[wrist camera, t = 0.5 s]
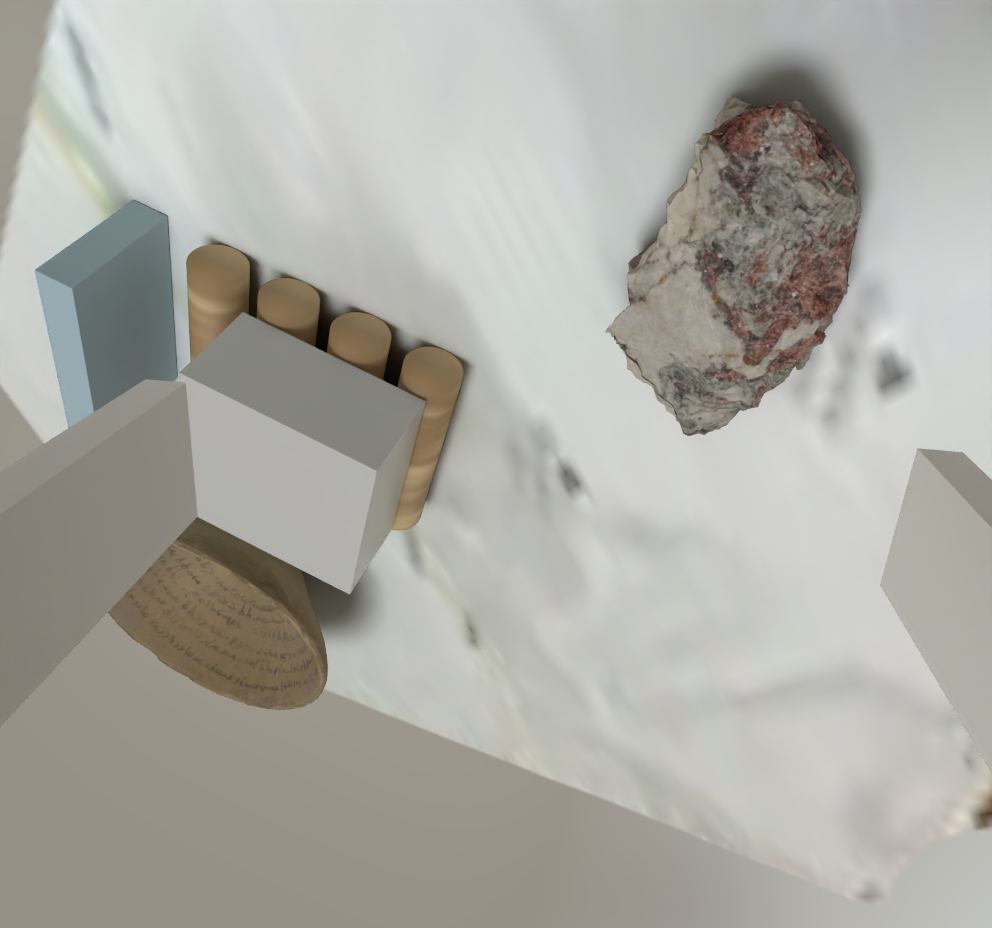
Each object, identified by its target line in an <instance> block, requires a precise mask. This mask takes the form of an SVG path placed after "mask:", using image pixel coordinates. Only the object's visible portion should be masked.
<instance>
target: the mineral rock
mask: <svg viewBox="0 0 992 928" xmlns="http://www.w3.org/2000/svg"><path fill="white" fill-rule="evenodd" d="M695 154H696V158H697V161H696V163H695V164H694V165H693V166H692V167H691V168H690V169H689V170H688V175H687V179H686V182H685V183H684V185H683V186H682V187H681V188H680V189H679V190H677V191H676V192H674V193H673V194H671V196H670V197H669V199H668V200H667V220H666V223H665V224H664V225H663V226H662V227H661V229H660V232H659V234H658V236H657V239H656V241H655V242H654V243H653V244H652V245H650V246H647V247H646V248H645V250H644V251H643V252H641V253H640V254H639V255H637V256H635V257H634V258H633V259H632V260H631V261H630V262H629V263H628V264H629V271H630V272H628V294H629V301H630V306H629V307H627V308H626V309H625V310H624V311H623V312H621V313H620V314H619V315H618V316H617V317H616V318H615V320H614V322H613V323H612V324H611V325H610V326H609V327H608V328H607V329H606V333H607V332H609V333H611V335H612V337H614V340H616V344H619V347H620V348H621V349H622V350H623V352H624V353H625V355H626V358H627V369H628V370H630V371H632V373H633V374H634V376H635V377H636V378H637V379H639V380H641V381H642V382H644V383H647V384H649V385H651V386H652V387H653V388H654V391H655V394H656V397H657V400H658V401H659V402H661V403H663V404H664V405H665V408H666V410H667V411H668V412H670V413H671V414H673V415H674V416H675V417H676V420H677V421H678V422H679V423H680V425H681V428H682V431H683V434H685V435H687V436H691V435H694V434H698V433H699V434H703V435H705V434H706V433H708V432H710V431H713V430H716V429H717V430H718V429H720V428H721V427H723V426H725V425H727V424H728V423H729V422H730V421H731V420H732V418H733V417H734V416H735V415H736V414H737V413H738V412H739V411H740V410H743V411H744V410H746V409H750V408H755V407H758V406H759V403H760V401H761V398H762V396H763V394H764V393H765V392H767V391H769V390H772V389H774V388H775V387H776V386H778V385H779V384H781V383H782V382H784V381H785V379H786V378H787V377H788V376H789V375H790V372H791V371H792V369H793V368H794V367H795V366H796V368H797V370H801V369H802V368H803V367H804V365H805V364H806V363H807V361H808V360H809V357H810V355H811V352H812V349H813V347H815V346H817V345H819V344H822V343H823V341H824V339H825V337H826V335H825V333H824V331H825V329H826V328H827V327H828V326H829V325H830V324H831V323H832V315H833V314H834V313H835V312H836V311H837V309H838V307H839V305H840V303H841V301H842V298H843V296H844V294H847V287H848V286H849V285H848V283H847V282H848V271H849V267H850V263H851V251H852V248H853V244H854V241H855V235H856V232H857V228H856V226H857V225H858V221H859V219H860V213H861V203H860V197H859V195H858V192H859V188H858V187H857V186H856V183H855V174H854V173H853V172H852V169H851V166H850V163H849V161H848V160H847V159H846V158H845V157H844V155H843V154H842V153H841V152H840V151H839V150H838V149H837V148H836V147H835V146H834V140H833V139H832V138H831V136H830V135H829V134H828V133H827V131H826V130H825V129H824V128H822V127H821V126H819V125H818V124H817V121H816V119H815V118H814V117H813V116H812V114H811V113H810V112H809V110H808V109H807V108H806V107H805V105H804V104H803V103H802V101H801V100H799V101H796V100H793V101H791V102H789V103H787V104H786V103H784V102H782V101H780V100H778V101H776V102H775V103H773V104H772V105H766V106H764V107H759V108H754V109H753V107H752V106H751V104H750V103H746V102H742V101H741V100H739V99H738V97H735V98H730V99H727V101H726V104H725V107H724V108H723V110H722V111H721V112H720V113H719V114H718V116H717V118H716V120H715V129H714V130H713V131H712V132H710V133H704V134H702V136H701V138H700V140H699V141H698V142H697V143H695Z"/></svg>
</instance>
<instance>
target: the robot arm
mask: <svg viewBox="0 0 992 928" xmlns="http://www.w3.org/2000/svg"><path fill="white" fill-rule="evenodd" d="M197 517H198V514H197V503H196V491H195V480H194V469H193V458H192V446H191V435H190V424H189V412H188V401H187V390H186V383H182V382H171V381H160V380H148V379H145V380H144V381H142V382H141V383H139V384H138V385H136V386H134V387H133V388H131V389H130V390H128V391H127V392H125V393H123V394H122V395H120V396H119V397H117V398H115V399H114V400H112V401H111V402H109V403H108V404H106V405H104V406H103V407H101V408H100V409H98V410H97V411H95V412H93V413H92V414H90V415H89V416H87V417H86V418H84V419H82V420H81V421H79V422H78V423H76V424H75V425H73V426H71V427H70V428H68V429H67V430H65V431H64V432H62V433H60V434H59V435H57V436H56V437H54V438H53V439H51V440H49V441H48V442H46V443H45V444H43V445H42V446H40V447H38V448H37V449H35V450H34V451H32V452H31V453H29V454H27V455H26V456H24V457H23V458H21V459H19V460H18V461H16V462H15V463H13V464H12V465H10V466H9V467H7V468H5V469H4V470H2V471H1V472H0V727H1V726H2V725H3V724H4V722H6V720H7V719H8V718H9V717H10V716H11V715H12V714H13V713H14V712H15V711H16V710H17V709H18V708H19V707H20V706H21V704H22V703H23V702H24V701H25V700H26V699H27V698H28V697H29V696H30V695H31V694H32V693H33V692H34V690H35V689H36V688H37V687H38V686H39V685H40V684H41V683H42V682H43V681H44V680H45V679H46V678H47V677H48V676H49V675H50V673H51V672H52V671H53V670H54V669H55V668H56V667H57V666H58V665H59V664H60V663H61V662H62V661H63V659H64V658H65V657H66V656H67V655H68V654H69V653H70V652H71V651H72V650H73V649H74V648H75V647H76V646H77V645H78V643H80V641H81V640H82V639H83V638H84V637H85V636H86V635H87V634H88V633H89V632H90V631H91V630H92V629H93V628H94V626H95V625H96V624H97V623H98V622H99V621H100V620H101V619H102V618H103V617H104V616H105V615H106V614H107V613H108V612H109V610H110V609H111V608H112V607H113V606H114V605H115V604H116V603H117V602H118V601H119V600H120V599H121V598H122V597H123V596H124V594H125V593H126V592H127V591H128V590H129V589H130V588H131V587H132V586H133V585H134V584H135V583H136V582H137V581H138V580H139V578H140V577H141V576H142V575H143V574H144V573H145V572H146V571H147V570H148V569H149V568H150V567H151V566H152V565H153V563H154V562H155V561H156V560H157V559H158V558H159V557H160V556H161V555H162V554H163V553H164V552H165V551H166V550H167V549H168V547H169V546H170V545H171V544H172V543H173V542H174V541H175V540H176V539H177V538H178V537H179V536H180V535H181V534H182V533H183V531H184V530H185V529H186V528H187V527H188V526H189V525H190V524H191V523H192V522H193V521H194V520H195V519H196V518H197ZM880 586H881V587H882V589H883V591H884V592H885V594H886V596H887V597H888V599H889V601H890V602H891V604H892V606H893V608H894V609H895V611H896V613H897V614H898V616H899V618H900V619H901V621H902V623H903V624H904V626H905V628H906V629H907V631H908V633H909V635H910V636H911V638H912V640H913V641H914V643H915V645H916V646H917V648H918V650H919V651H920V653H921V655H922V656H923V658H924V660H925V662H926V663H927V665H928V667H929V668H930V670H931V672H932V673H933V675H934V677H935V678H936V680H937V682H938V683H939V685H940V687H941V689H942V690H943V692H944V694H945V695H946V697H947V699H948V700H949V702H950V704H951V705H952V707H953V709H954V711H955V712H956V714H957V716H958V717H959V719H960V721H961V722H962V724H963V726H964V727H965V729H966V731H967V732H968V734H969V736H970V738H971V739H972V741H973V743H974V744H975V746H976V748H977V749H978V751H979V753H980V754H981V756H982V758H983V759H984V761H985V763H986V765H987V766H988V768H989V770H990V771H991V773H992V480H991V479H990V478H989V477H988V476H987V475H986V474H985V473H984V472H983V471H982V470H981V469H980V468H979V467H978V466H977V465H975V464H974V463H973V462H972V461H971V460H970V459H969V458H968V457H967V456H966V455H965V454H964V453H963V452H952V451H941V450H930V449H918V448H917V452H916V456H915V459H914V463H913V467H912V470H911V474H910V478H909V481H908V485H907V489H906V492H905V496H904V500H903V503H902V507H901V510H900V514H899V518H898V521H897V525H896V529H895V532H894V536H893V540H892V543H891V547H890V551H889V554H888V558H887V562H886V565H885V569H884V573H883V576H882V580H881V584H880Z"/></svg>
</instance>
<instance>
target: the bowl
mask: <svg viewBox="0 0 992 928" xmlns="http://www.w3.org/2000/svg"><path fill="white" fill-rule="evenodd" d="M108 613H109V614H110V616H111V617H112V618H113V619H114V620H115V621H116V622H117V624H118V625H119V626H120V627H121V628H122V629H123V630H124V631H125V632H126V633H127V634H128V635H130V636H131V637H132V638H133V639H134V640H135V641H137V642H138V643H140V644H142V645H143V646H145V647H146V648H148V649H149V650H150V651H152V652H153V653H154V654H155V655H156V656H157V657H158V659H159V660H160V661H162V662H163V663H164V664H166V665H167V666H169V667H170V668H172V669H173V670H175V671H177V672H179V673H181V674H183V675H185V676H187V677H189V678H190V679H191V680H192V681H193V682H195V683H197V684H199V685H200V686H202V687H204V688H206V689H208V690H210V691H212V692H214V693H216V694H219V695H222V696H225V697H228V698H231V699H233V700H236V701H239V702H244V703H245V704H247V705H252V706H257V707H261V708H267V709H276V710H286V709H295V708H299V707H303V706H306V705H307V704H309V703H312V702H313V701H314V700H316V699H317V698H318V697H319V695H320V694H321V693H322V691H323V689H324V687H325V684H326V681H327V672H328V664H327V654H326V648H325V642H324V639H323V636H322V632H321V629H320V626H319V624H318V621H317V618H316V615H315V613H314V610H313V607H312V605H311V603H310V600H309V596H308V591H307V586H306V582H305V579H304V576H303V574H302V571H301V570H300V569H299V568H297V567H295V566H293V565H291V564H289V563H287V562H285V561H283V560H281V559H279V558H277V557H275V556H273V555H271V554H269V553H267V552H265V551H263V550H261V549H259V548H257V547H255V546H253V545H252V544H250V543H248V542H246V541H244V540H242V539H240V538H238V537H236V536H234V535H232V534H230V533H228V532H226V531H224V530H222V529H220V528H218V527H216V526H214V525H212V524H210V523H208V522H207V521H205V520H203V519H201V518H199V517H197V518H196V519H195V520H194V521H193V522H192V523H191V524H190V525H189V526H188V527H187V528H186V529H185V530H184V531H183V533H182V534H181V535H180V536H179V537H178V538H177V539H176V540H175V541H174V542H173V543H172V544H171V545H170V546H169V547H168V549H167V550H166V551H165V552H164V553H163V554H162V555H161V556H160V557H159V558H158V559H157V560H156V561H155V562H154V563H153V565H152V566H151V567H150V568H149V569H148V570H147V571H146V572H145V573H144V574H143V575H142V576H141V577H140V578H139V580H138V581H137V582H136V583H135V584H134V585H133V586H132V587H131V588H130V589H129V590H128V591H127V592H126V593H125V594H124V596H123V597H122V598H121V599H120V600H119V601H118V602H117V603H116V604H115V605H114V606H113V607H112V608H111V609H110V610H109V612H108Z"/></svg>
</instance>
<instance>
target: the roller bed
mask: <svg viewBox="0 0 992 928" xmlns="http://www.w3.org/2000/svg"><path fill="white" fill-rule="evenodd" d="M186 265H187V288H188V311H189V334H190V357H191V361H192V360H193V359H194V358H196V357H197V356H198V355H199V354H200V353H201V352H202V351H203V350H204V349H205V348H206V347H207V346H208V345H209V344H210V343H211V342H212V341H213V340H214V339H215V338H216V337H217V336H218V335H219V334H220V333H222V332H223V331H224V330H225V329H226V328H227V327H228V326H229V325H230V324H231V323H232V322H233V321H234V320H235V319H236V318H237V317H238V316H239V315H240V314H241V313H242V312H244V313H246V314H248V315H249V281H250V264H249V261H248V259H247V258H246V256H245V255H244V254H242V253H241V252H240V251H238V250H236V249H234V248H231V247H228V246H224V245H206V246H202V247H199V248H197V249H195V250H194V251H192V252H191V253H190V254H189V256H188V258H187V262H186ZM319 308H320V298H319V295H318V293H317V292H316V291H315V289H314V288H312V287H311V286H310V285H308V284H306V283H305V282H302V281H299V280H296V279H290V278H280V279H275V280H271V281H269V282H267V283H265V284H264V285H263V286H262V287H261V288H260V290H259V292H258V300H257V319H258V320H260V321H262V322H264V323H266V324H268V325H271V326H273V327H275V328H277V329H279V330H281V331H283V332H285V333H287V334H289V335H291V336H293V337H295V338H297V339H299V340H301V341H303V342H305V343H307V344H309V345H311V346H314V347H315V344H316V335H317V326H318V317H319ZM390 343H391V332H390V330H389V328H388V326H387V325H386V324H385V323H384V322H383V321H382V320H380V319H379V318H377V317H375V316H373V315H370V314H366V313H361V312H351V313H346V314H343V315H341V316H339V317H337V318H336V319H335V320H334V321H333V322H332V324H331V326H330V332H329V340H328V348H327V353H328V354H330V355H332V356H334V357H336V358H338V359H340V360H342V361H344V362H346V363H348V364H350V365H352V366H354V367H356V368H359V369H361V370H363V371H365V372H367V373H369V374H371V375H373V376H375V377H377V378H379V379H381V380H383V377H384V372H385V367H386V363H387V358H388V353H389V348H390ZM463 376H464V371H463V367H462V365H461V363H460V362H459V360H458V359H457V358H456V357H455V356H454V355H452V354H451V353H449V352H447V351H445V350H443V349H440V348H436V347H420V348H416V349H414V350H412V351H410V352H409V353H408V354H407V355H406V356H405V358H404V361H403V365H402V370H401V374H400V379H399V383H398V388H399V389H401V390H404V391H406V392H408V393H410V394H412V395H414V396H416V397H418V398H420V399H422V400H424V401H426V403H425V406H424V410H423V414H422V418H421V422H420V425H419V429H418V433H417V437H416V440H415V444H414V448H413V452H412V455H411V459H410V463H409V467H408V471H407V474H406V478H405V482H404V486H403V489H402V493H401V497H400V501H399V504H398V508H397V512H396V516H395V520H394V523H393V527H392V530H406V529H409V528H411V527H413V526H414V525H415V524H416V523H417V522H418V521H419V519H420V517H421V514H422V511H423V507H424V504H425V501H426V498H427V494H428V491H429V488H430V484H431V481H432V478H433V475H434V471H435V468H436V465H437V462H438V458H439V455H440V452H441V448H442V445H443V442H444V439H445V435H446V432H447V429H448V425H449V422H450V419H451V416H452V412H453V409H454V406H455V402H456V399H457V396H458V393H459V389H460V386H461V383H462V380H463Z"/></svg>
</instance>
